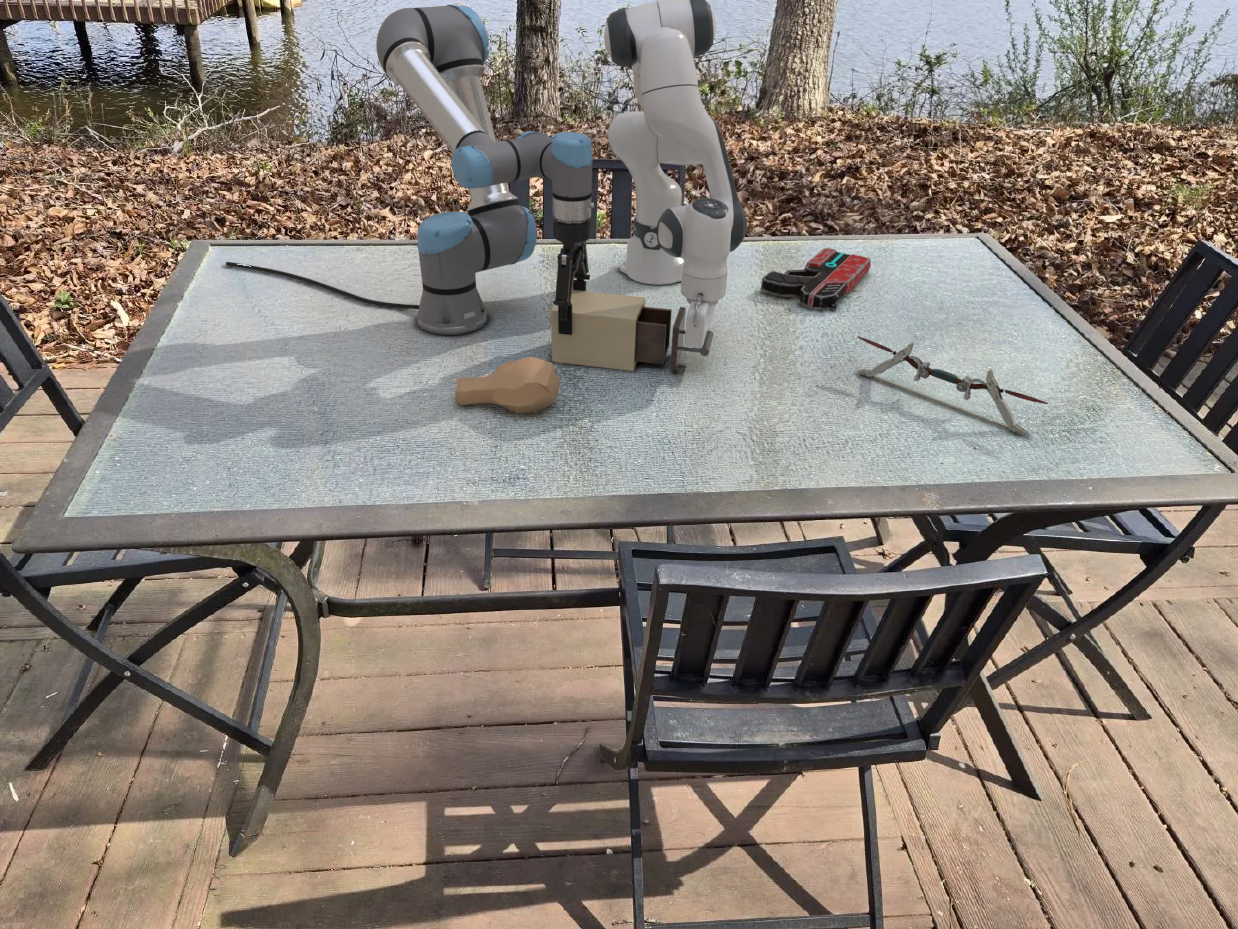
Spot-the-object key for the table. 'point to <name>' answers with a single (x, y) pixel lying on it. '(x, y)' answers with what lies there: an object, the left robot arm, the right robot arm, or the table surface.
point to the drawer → (663, 336)
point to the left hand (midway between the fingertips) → (572, 321)
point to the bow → (962, 385)
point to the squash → (513, 386)
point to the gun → (819, 279)
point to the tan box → (598, 331)
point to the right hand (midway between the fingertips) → (698, 348)
